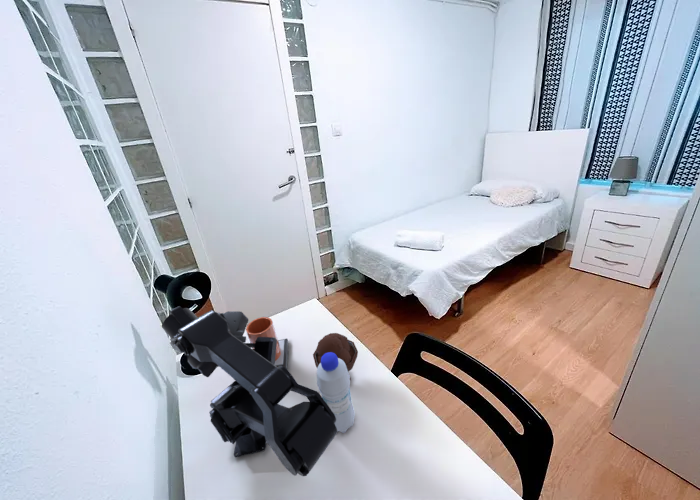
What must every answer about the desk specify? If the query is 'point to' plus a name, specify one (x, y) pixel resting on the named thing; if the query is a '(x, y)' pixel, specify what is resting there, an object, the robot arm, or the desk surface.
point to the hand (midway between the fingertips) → (253, 350)
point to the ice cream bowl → (336, 349)
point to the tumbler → (262, 331)
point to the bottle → (336, 389)
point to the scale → (282, 353)
